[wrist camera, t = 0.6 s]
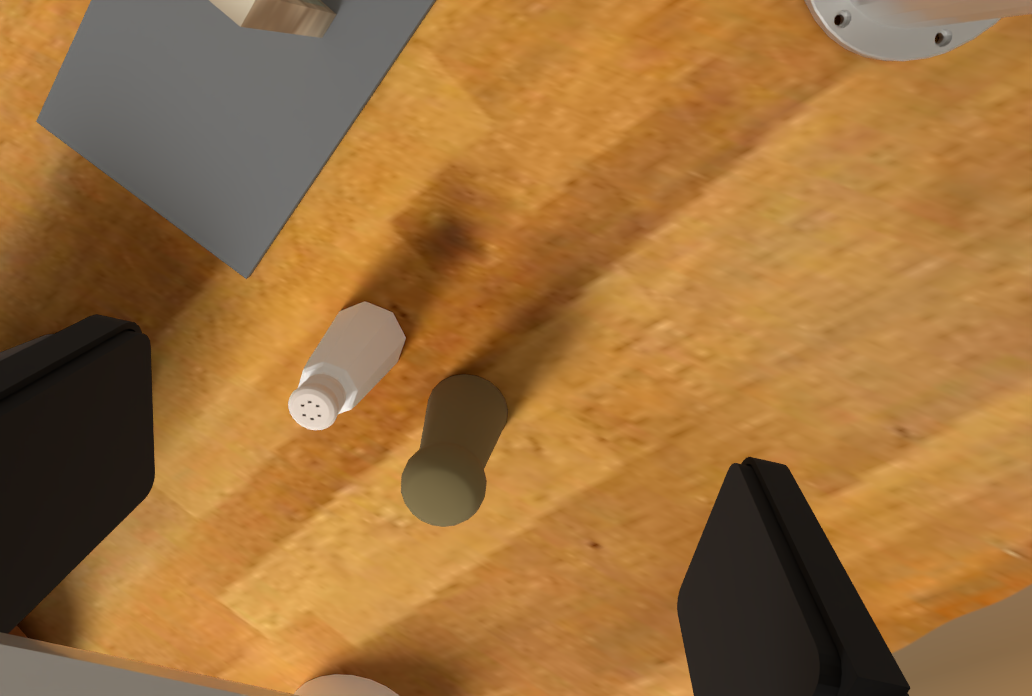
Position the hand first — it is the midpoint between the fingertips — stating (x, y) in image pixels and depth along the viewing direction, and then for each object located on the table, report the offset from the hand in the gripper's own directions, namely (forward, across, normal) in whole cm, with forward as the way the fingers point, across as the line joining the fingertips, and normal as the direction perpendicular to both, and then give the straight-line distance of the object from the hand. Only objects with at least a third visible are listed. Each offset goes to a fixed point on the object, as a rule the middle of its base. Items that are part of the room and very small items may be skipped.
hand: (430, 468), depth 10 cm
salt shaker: (+33, +9, +14) cm, 37 cm away
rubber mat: (+33, +20, -3) cm, 38 cm away
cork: (+33, +1, +18) cm, 38 cm away
